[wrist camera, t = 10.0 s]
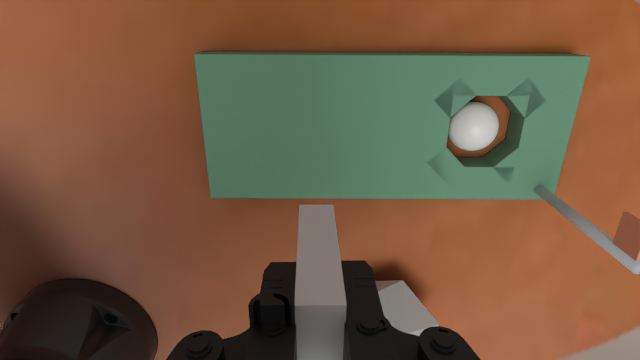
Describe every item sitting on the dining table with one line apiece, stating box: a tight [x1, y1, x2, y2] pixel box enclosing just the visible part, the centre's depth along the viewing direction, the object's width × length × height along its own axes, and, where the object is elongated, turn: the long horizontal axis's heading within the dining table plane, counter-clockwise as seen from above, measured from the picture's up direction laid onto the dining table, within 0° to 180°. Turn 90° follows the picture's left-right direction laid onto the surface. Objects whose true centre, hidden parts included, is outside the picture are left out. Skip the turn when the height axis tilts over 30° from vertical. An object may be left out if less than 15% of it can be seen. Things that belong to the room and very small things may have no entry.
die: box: [375, 280, 439, 336], centre depth 38 cm, size 8×9×10 cm
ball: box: [448, 102, 499, 151], centre depth 32 cm, size 4×4×4 cm
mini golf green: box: [194, 51, 640, 274], centre depth 28 cm, size 30×12×14 cm, turn 90°
